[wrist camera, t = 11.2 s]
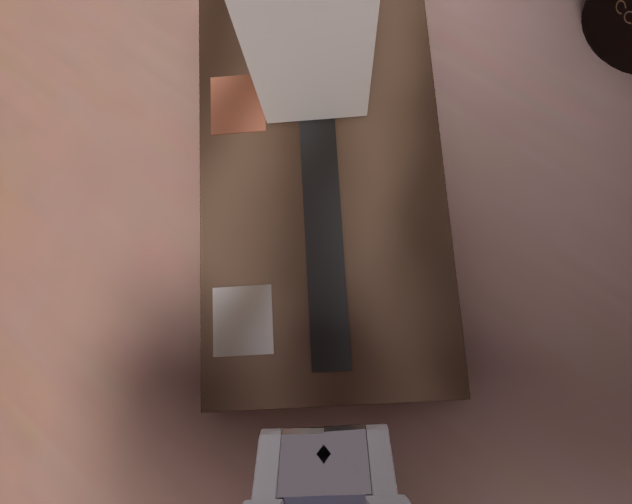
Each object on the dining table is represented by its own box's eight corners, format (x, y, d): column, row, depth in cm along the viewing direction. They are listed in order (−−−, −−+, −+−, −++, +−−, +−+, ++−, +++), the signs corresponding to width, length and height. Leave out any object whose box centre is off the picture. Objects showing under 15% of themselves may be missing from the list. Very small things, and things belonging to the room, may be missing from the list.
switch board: (416, -10, 25) (420, -32, 24) (461, 395, 21) (470, 399, 20) (207, 9, 26) (198, -12, 24) (210, 407, 22) (200, 412, 20)
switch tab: (362, 61, 23) (375, -113, 14) (366, 115, 22) (383, -31, 13) (265, 69, 23) (217, -97, 14) (267, 123, 23) (219, -16, 14)
